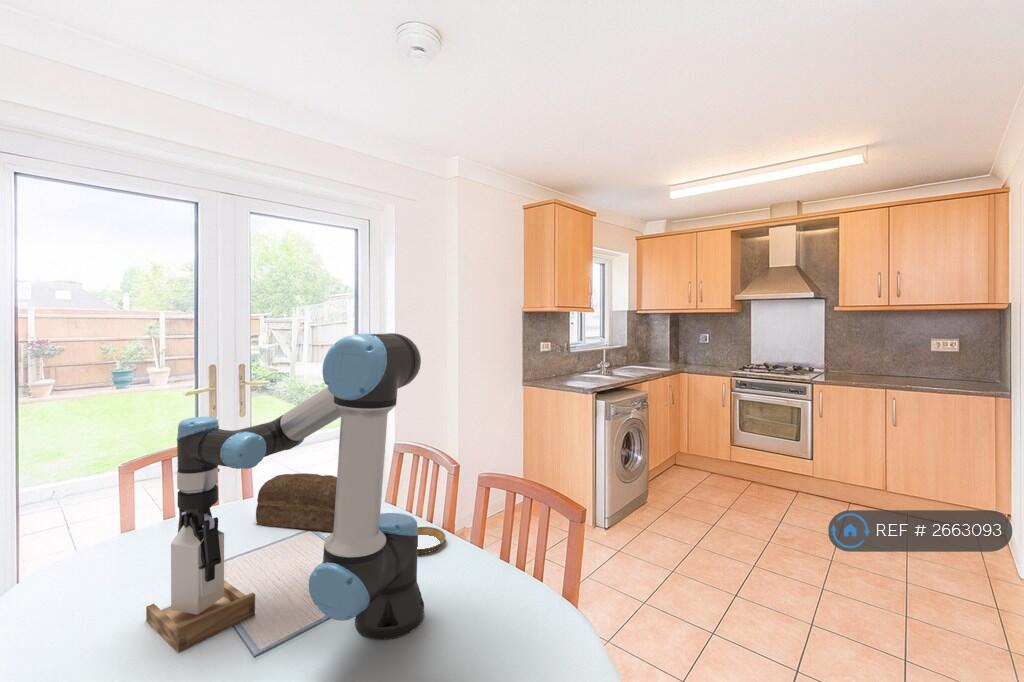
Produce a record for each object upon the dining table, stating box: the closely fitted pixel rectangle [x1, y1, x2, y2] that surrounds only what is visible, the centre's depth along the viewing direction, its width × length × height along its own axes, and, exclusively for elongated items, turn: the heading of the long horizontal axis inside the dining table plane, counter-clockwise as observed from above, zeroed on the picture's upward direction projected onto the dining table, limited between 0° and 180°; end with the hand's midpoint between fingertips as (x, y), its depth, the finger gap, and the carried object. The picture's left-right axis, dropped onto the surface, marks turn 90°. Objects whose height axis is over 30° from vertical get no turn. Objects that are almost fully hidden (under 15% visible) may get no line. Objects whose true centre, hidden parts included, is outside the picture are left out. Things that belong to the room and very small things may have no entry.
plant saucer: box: [417, 526, 446, 554], centre depth 142 cm, size 15×15×3 cm
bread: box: [255, 472, 337, 533], centre depth 157 cm, size 15×32×16 cm, turn 80°
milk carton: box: [170, 525, 225, 614], centre depth 105 cm, size 7×7×19 cm
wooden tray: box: [145, 579, 256, 654], centre depth 105 cm, size 17×15×5 cm
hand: (198, 586), depth 106 cm, fingers closed on milk carton, 9 cm apart
